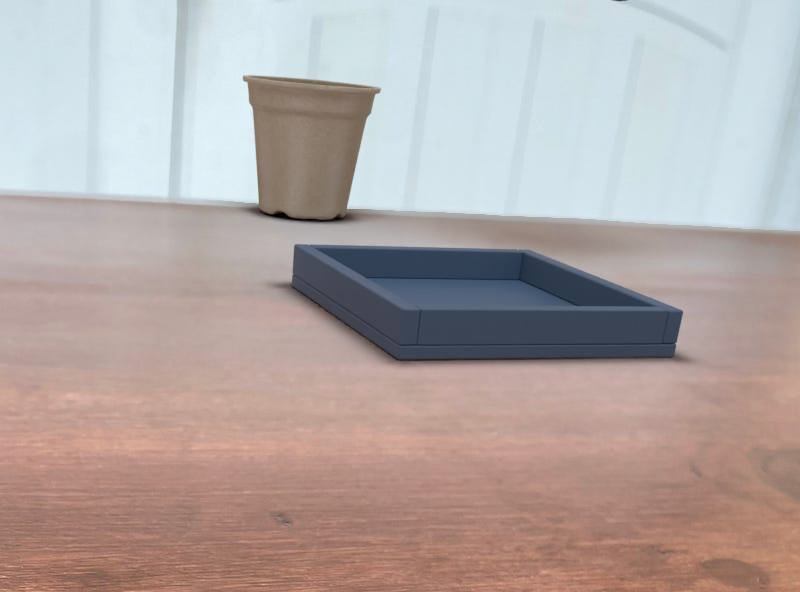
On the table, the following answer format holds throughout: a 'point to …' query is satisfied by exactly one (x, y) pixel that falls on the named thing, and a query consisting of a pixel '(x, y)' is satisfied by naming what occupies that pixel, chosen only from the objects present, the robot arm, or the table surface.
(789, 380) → the table surface
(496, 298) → the candle dish
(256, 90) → the flower pot
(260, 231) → the table surface
